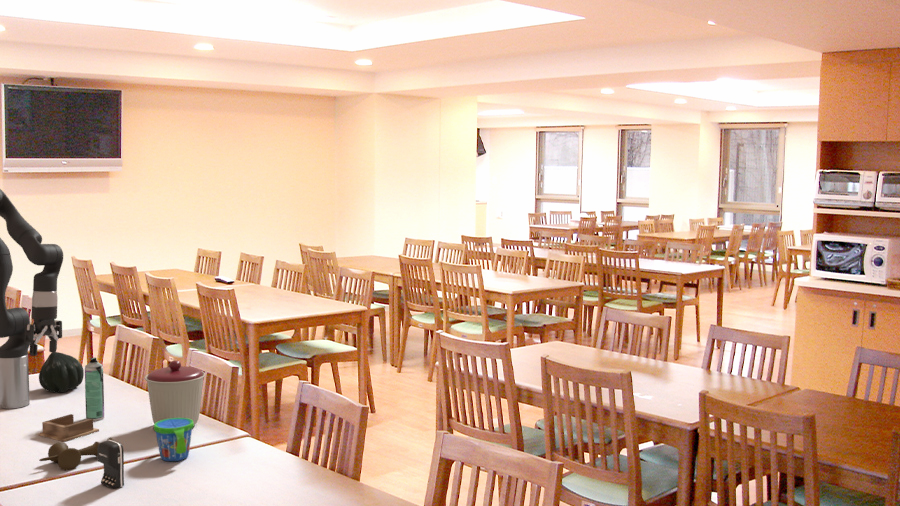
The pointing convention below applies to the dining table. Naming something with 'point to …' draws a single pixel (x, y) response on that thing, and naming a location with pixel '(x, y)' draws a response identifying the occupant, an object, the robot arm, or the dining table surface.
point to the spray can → (94, 390)
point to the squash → (60, 373)
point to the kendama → (69, 454)
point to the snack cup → (174, 438)
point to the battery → (111, 463)
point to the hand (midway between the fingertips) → (43, 353)
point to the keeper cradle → (67, 428)
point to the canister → (175, 392)
